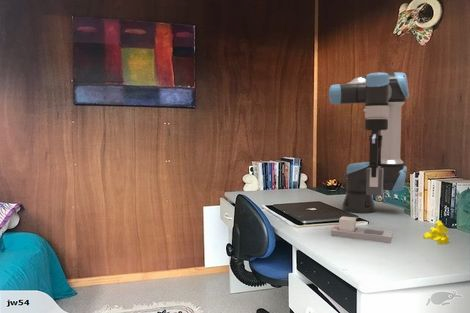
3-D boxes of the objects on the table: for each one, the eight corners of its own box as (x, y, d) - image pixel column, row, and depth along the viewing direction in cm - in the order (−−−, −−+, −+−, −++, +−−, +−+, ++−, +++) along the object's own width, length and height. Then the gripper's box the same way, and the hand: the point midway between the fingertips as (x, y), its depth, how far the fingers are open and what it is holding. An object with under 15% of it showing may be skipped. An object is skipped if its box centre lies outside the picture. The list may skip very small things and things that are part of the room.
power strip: (335, 233, 145) (335, 224, 145) (392, 240, 136) (392, 230, 136) (331, 239, 138) (331, 229, 138) (390, 246, 129) (391, 236, 129)
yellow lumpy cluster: (420, 239, 138) (421, 218, 137) (443, 239, 138) (444, 218, 137) (428, 244, 132) (428, 222, 131) (451, 244, 132) (452, 222, 131)
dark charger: (368, 192, 138) (368, 167, 137) (382, 193, 136) (383, 168, 135) (366, 194, 133) (366, 168, 133) (381, 195, 131) (382, 169, 130)
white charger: (341, 232, 143) (342, 216, 142) (355, 233, 141) (355, 217, 140) (339, 235, 138) (339, 219, 138) (353, 237, 136) (353, 220, 136)
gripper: (368, 119, 142) (367, 181, 144) (360, 118, 126) (359, 188, 128) (390, 118, 139) (388, 182, 141) (385, 118, 123) (383, 190, 125)
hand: (374, 185), depth 134 cm, fingers closed on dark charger, 5 cm apart
